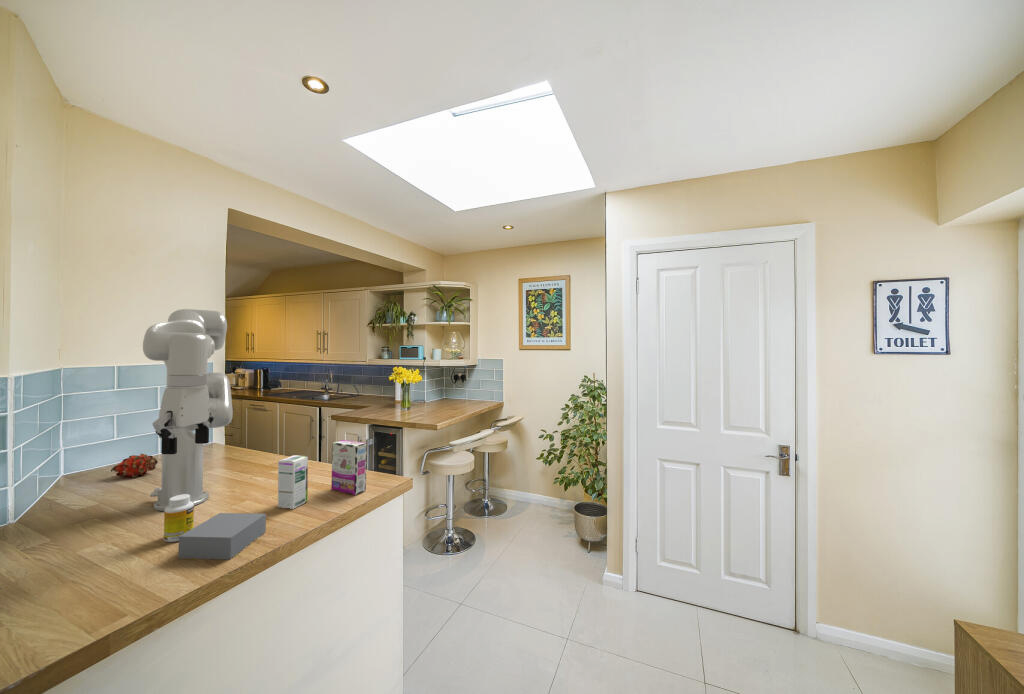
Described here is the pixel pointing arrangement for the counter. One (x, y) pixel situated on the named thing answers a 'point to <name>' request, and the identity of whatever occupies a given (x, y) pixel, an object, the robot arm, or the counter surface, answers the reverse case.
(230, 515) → the base block
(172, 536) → the supplement bottle
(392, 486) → the counter surface
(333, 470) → the candy bar box
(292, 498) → the syrup box
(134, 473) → the dragon fruit
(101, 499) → the counter surface
